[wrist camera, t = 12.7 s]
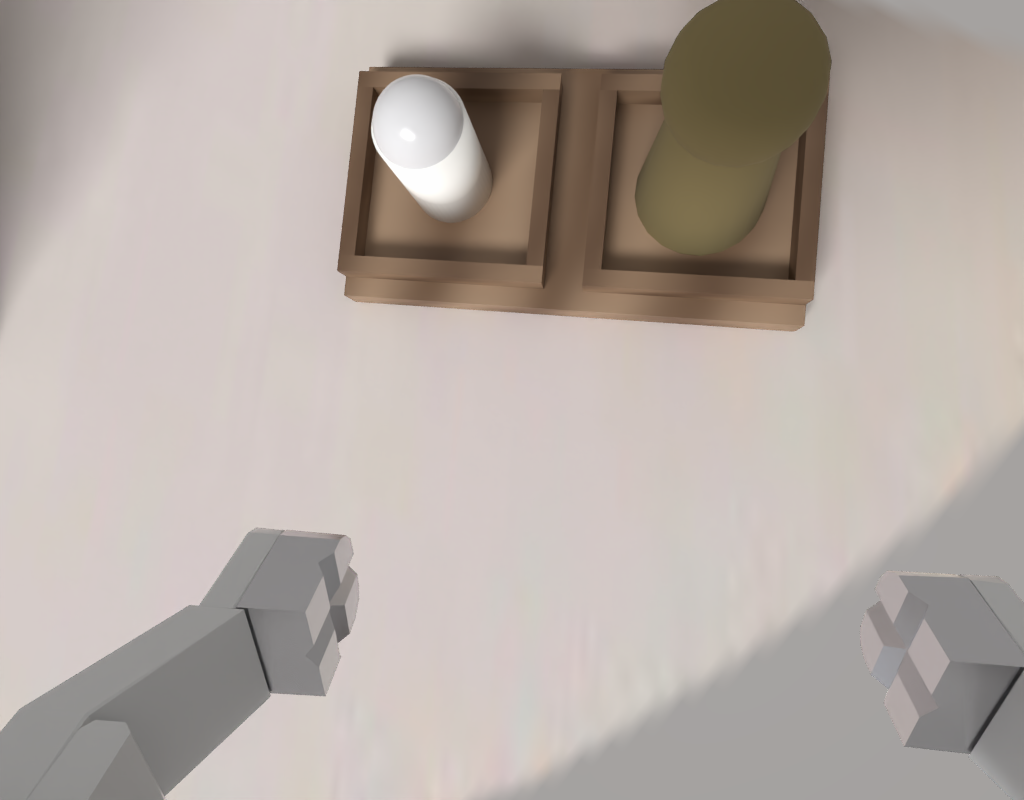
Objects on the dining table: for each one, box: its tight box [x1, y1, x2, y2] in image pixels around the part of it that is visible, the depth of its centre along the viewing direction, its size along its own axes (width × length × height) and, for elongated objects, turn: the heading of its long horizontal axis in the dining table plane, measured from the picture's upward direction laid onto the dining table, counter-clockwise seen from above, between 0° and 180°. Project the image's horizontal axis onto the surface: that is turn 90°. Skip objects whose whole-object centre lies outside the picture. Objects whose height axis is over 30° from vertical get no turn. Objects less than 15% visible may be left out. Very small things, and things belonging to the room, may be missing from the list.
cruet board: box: [337, 67, 830, 331], centre depth 31 cm, size 22×12×3 cm, turn 85°
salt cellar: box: [371, 74, 493, 223], centre depth 28 cm, size 4×4×8 cm
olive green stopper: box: [634, 0, 831, 256], centre depth 24 cm, size 6×6×11 cm
